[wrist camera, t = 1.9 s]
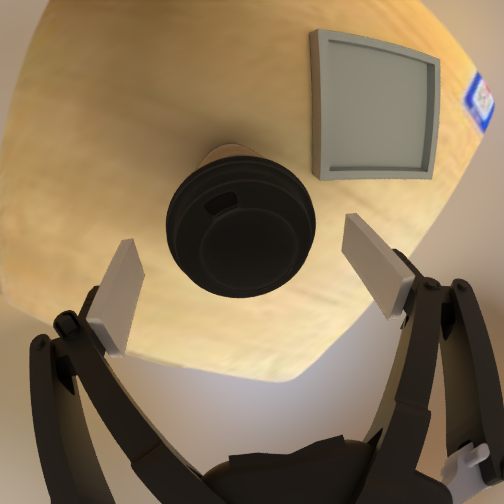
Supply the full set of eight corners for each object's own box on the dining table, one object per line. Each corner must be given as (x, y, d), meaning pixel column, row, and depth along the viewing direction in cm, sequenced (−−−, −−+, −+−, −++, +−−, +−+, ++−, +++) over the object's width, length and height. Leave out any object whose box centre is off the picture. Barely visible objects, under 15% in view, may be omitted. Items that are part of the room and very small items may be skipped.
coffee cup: (220, 109, 24) (225, 127, 12) (292, 162, 28) (354, 228, 16) (168, 183, 28) (134, 266, 15) (239, 225, 32) (257, 324, 19)
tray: (309, 33, 20) (317, 29, 18) (427, 58, 21) (439, 59, 19) (312, 173, 29) (320, 180, 27) (420, 172, 30) (431, 179, 28)
